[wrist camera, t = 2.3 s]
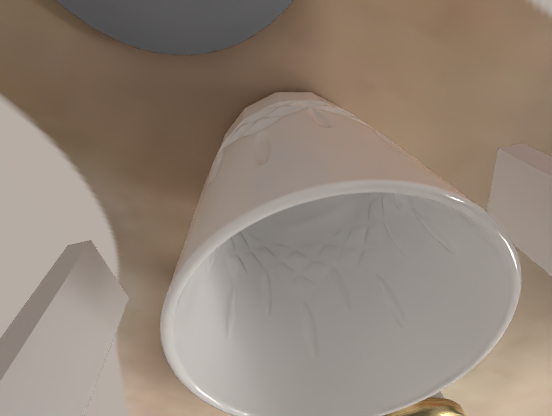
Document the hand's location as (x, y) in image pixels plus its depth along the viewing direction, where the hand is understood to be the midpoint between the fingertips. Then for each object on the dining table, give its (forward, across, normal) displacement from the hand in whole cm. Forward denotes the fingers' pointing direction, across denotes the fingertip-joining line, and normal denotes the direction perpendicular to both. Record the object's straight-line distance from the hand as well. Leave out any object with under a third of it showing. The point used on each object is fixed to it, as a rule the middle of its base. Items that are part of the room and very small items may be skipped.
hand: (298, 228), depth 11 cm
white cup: (+6, 0, 0) cm, 6 cm away
